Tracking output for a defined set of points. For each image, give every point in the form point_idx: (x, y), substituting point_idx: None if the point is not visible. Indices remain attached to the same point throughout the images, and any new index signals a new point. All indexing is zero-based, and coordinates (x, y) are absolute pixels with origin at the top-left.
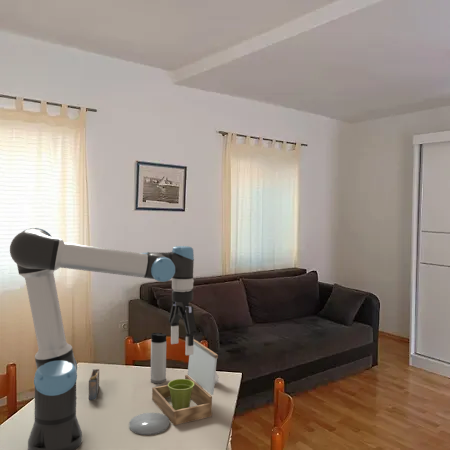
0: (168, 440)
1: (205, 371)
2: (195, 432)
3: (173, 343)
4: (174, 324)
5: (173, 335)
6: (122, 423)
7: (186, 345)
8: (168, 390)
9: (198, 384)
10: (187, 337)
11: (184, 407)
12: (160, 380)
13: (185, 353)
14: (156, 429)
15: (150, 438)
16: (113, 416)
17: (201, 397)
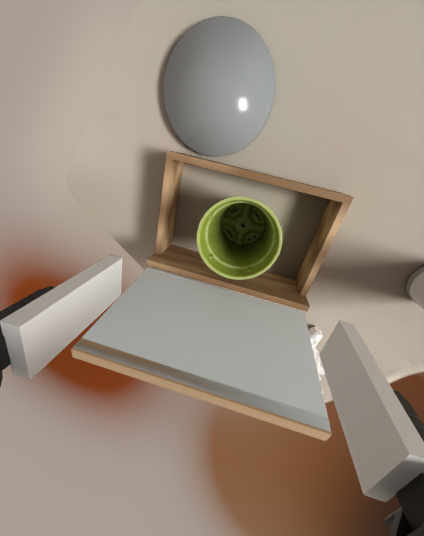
0: (124, 95)
1: (176, 309)
2: (126, 175)
3: (334, 332)
4: (417, 505)
5: (355, 376)
6: (279, 16)
7: (68, 280)
8: (319, 241)
9: (308, 329)
10: (11, 321)
11: (220, 220)
12: (414, 279)
13: (118, 260)
14: (168, 86)
15: (154, 55)
16: (346, 8)
17: (200, 264)
